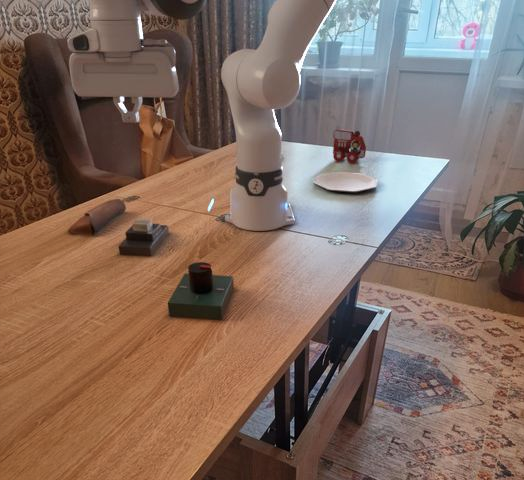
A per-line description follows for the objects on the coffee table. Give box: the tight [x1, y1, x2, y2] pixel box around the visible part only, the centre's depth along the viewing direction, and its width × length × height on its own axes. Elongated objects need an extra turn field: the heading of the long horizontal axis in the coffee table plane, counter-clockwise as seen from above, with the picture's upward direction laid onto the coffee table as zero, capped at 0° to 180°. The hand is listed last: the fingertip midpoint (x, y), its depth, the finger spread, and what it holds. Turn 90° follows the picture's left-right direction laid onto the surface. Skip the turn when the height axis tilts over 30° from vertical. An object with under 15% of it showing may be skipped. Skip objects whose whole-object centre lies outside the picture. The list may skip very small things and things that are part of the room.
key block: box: [117, 223, 170, 258], centre depth 116 cm, size 14×8×4 cm, turn 172°
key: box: [131, 217, 154, 232], centre depth 114 cm, size 4×4×2 cm
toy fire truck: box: [332, 129, 367, 164], centre depth 176 cm, size 7×12×10 cm, turn 66°
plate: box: [313, 171, 379, 194], centre depth 154 cm, size 20×20×2 cm
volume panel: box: [167, 273, 235, 321], centre depth 93 cm, size 12×10×3 cm
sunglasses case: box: [67, 198, 127, 237], centre depth 127 cm, size 18×7×7 cm
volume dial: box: [187, 261, 213, 294], centre depth 91 cm, size 4×4×5 cm
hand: (131, 122), depth 96 cm, fingers closed
